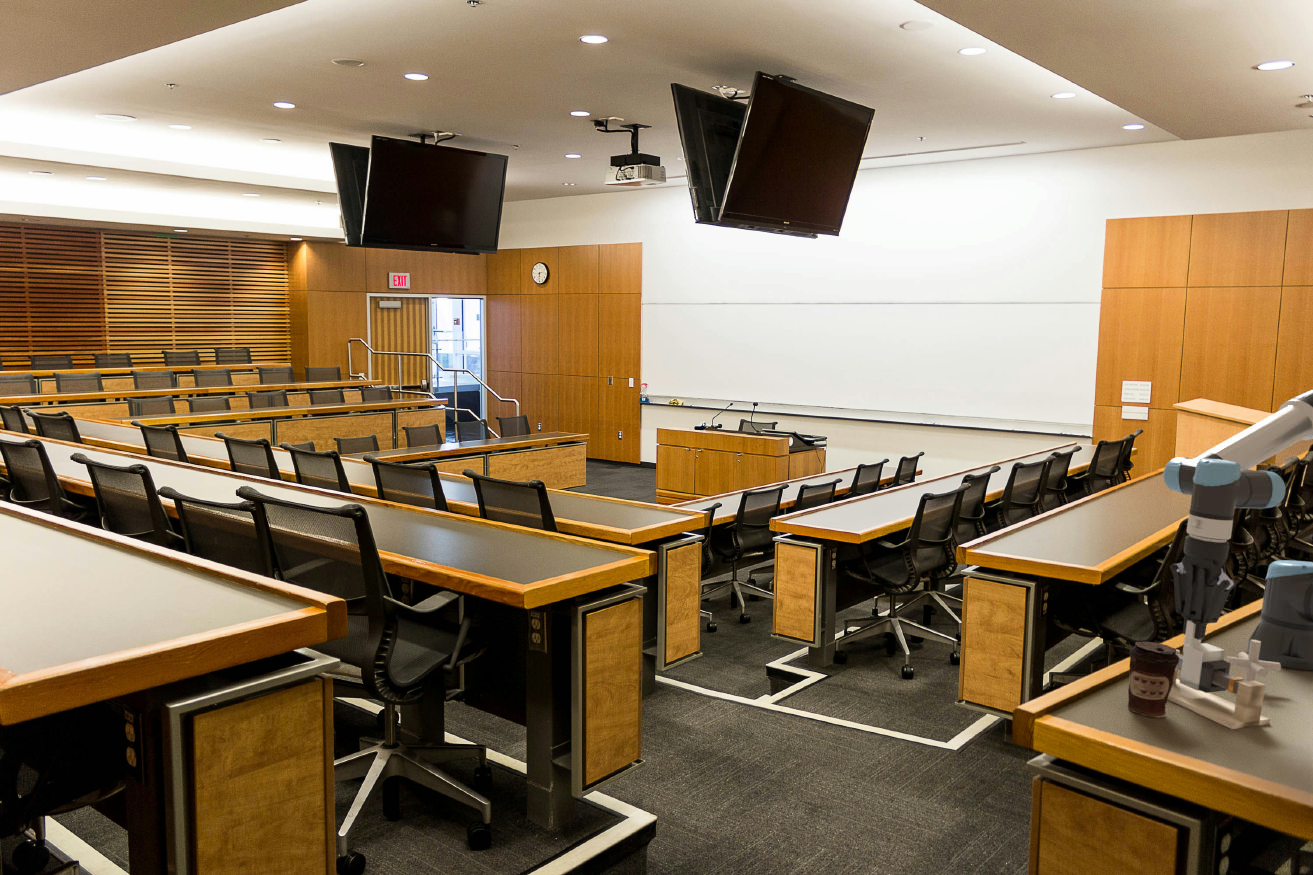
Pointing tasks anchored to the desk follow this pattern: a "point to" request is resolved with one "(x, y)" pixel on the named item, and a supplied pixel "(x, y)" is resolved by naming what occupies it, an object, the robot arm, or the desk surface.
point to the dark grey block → (1207, 672)
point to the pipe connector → (1253, 662)
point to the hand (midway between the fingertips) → (1190, 652)
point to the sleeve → (1197, 662)
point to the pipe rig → (1222, 700)
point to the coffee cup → (1151, 677)
